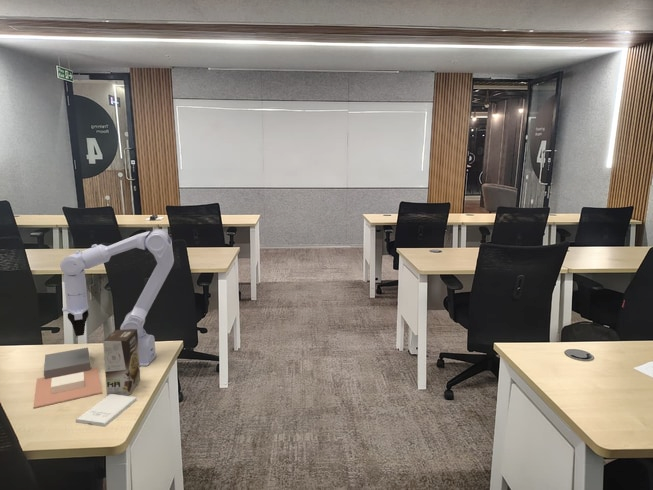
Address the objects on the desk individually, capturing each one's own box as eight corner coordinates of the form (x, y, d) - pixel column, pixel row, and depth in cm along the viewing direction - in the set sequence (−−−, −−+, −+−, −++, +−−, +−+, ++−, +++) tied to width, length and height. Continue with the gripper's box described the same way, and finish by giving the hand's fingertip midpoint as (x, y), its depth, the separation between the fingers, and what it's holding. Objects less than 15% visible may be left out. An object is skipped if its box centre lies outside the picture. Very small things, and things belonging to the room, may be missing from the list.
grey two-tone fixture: (46, 363, 139) (45, 354, 139) (88, 355, 145) (88, 347, 145) (44, 380, 128) (43, 370, 128) (90, 371, 134) (90, 362, 134)
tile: (51, 387, 120) (51, 393, 120) (84, 380, 124) (84, 386, 124) (51, 378, 125) (52, 384, 125) (83, 371, 129) (83, 378, 129)
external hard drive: (136, 402, 118) (105, 428, 106) (110, 399, 120) (75, 424, 108) (136, 396, 118) (104, 422, 106) (109, 393, 119) (75, 418, 107)
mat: (36, 379, 129) (36, 378, 128) (97, 368, 137) (97, 366, 137) (33, 408, 113) (33, 407, 113) (102, 393, 121) (102, 392, 121)
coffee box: (130, 395, 120) (126, 340, 118) (106, 396, 120) (101, 340, 117) (141, 380, 129) (138, 328, 127) (119, 380, 129) (115, 328, 126)
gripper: (61, 289, 138) (64, 329, 140) (61, 301, 126) (65, 345, 128) (86, 286, 141) (89, 326, 144) (88, 297, 129) (92, 341, 131)
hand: (79, 335), depth 136 cm, fingers closed
